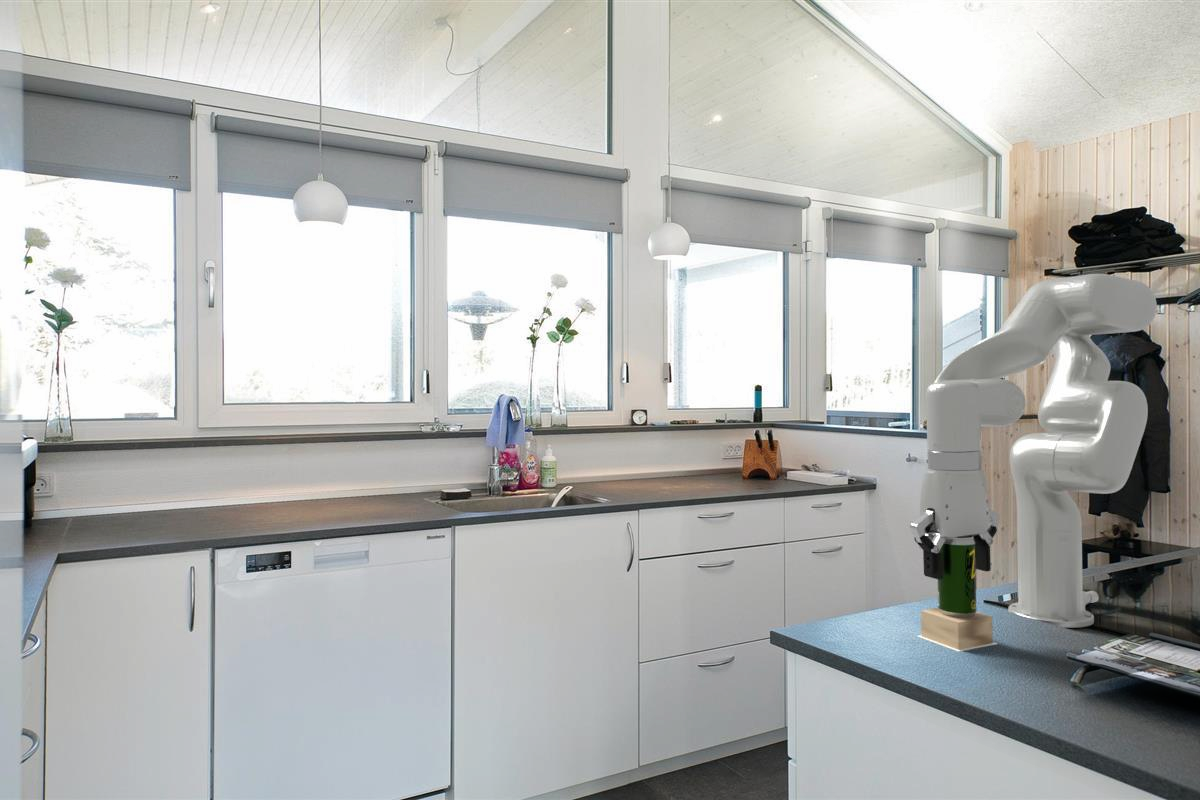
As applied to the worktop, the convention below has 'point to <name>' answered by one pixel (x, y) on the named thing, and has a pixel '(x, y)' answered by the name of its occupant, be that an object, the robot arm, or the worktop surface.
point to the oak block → (957, 629)
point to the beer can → (958, 578)
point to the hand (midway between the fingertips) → (957, 573)
